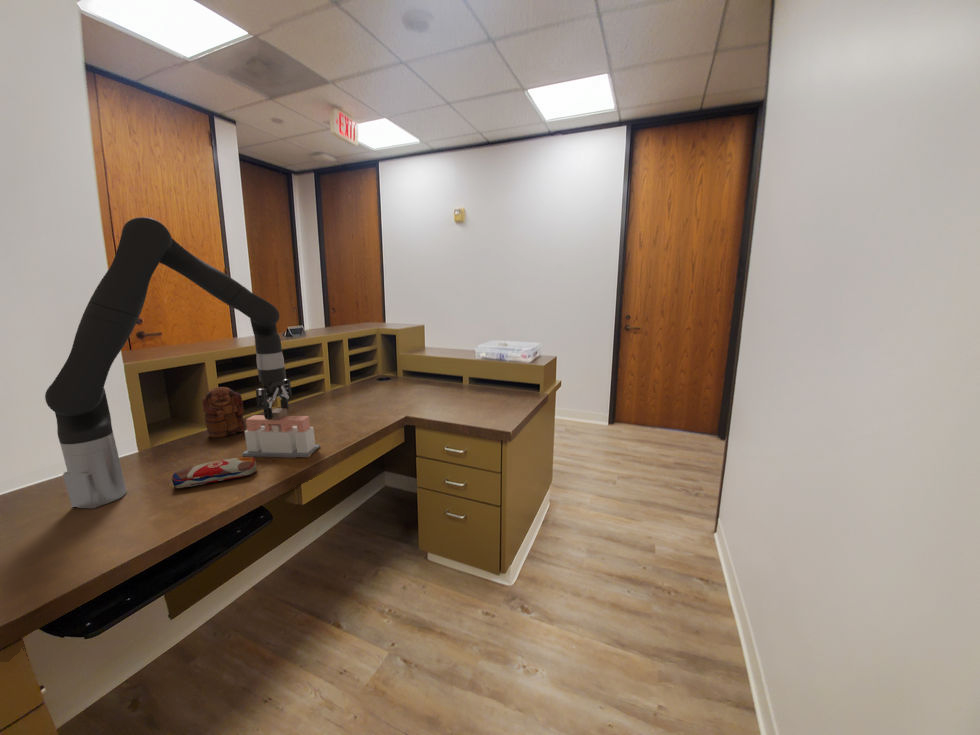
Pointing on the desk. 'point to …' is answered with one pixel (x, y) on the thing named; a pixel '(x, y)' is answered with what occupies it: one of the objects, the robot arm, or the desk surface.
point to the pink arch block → (278, 421)
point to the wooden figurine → (223, 412)
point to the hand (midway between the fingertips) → (277, 414)
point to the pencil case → (214, 472)
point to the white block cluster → (280, 442)
